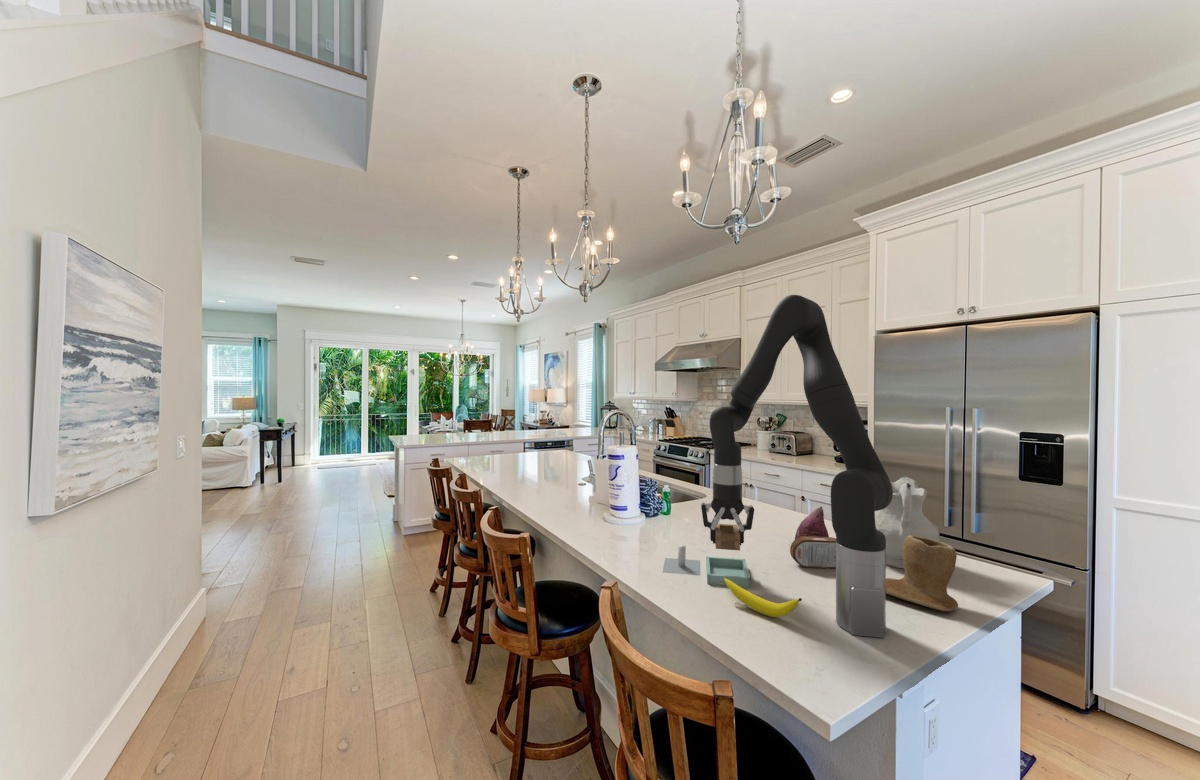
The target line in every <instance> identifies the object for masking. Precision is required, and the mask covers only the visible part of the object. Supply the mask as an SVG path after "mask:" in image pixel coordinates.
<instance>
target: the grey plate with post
mask: <svg viewBox="0 0 1200 780" xmlns="http://www.w3.org/2000/svg"><path fill="white" fill-rule="evenodd" d="M677 549H678V551H677V553H678V555H677V558H671V557H670V558H669V557H665V558H664V562H663V566H662V567H663V569H662V573H669V574H681V575H692V576H701V560H699V559H686V545H684V544H679V545H678V546H677Z"/></svg>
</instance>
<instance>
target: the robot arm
mask: <svg viewBox="0 0 1200 780" xmlns="http://www.w3.org/2000/svg"><path fill="white" fill-rule="evenodd" d="M791 338H794V340H795V342H796V344H797V347H798V349H799V351H800V355H801V357H802V362H803V389H804V390H803V391H804V395H805V398H806V401H807V403H808V406H809V410H810V412H811V414H812V417H813V419H814V420H815V421H816V424H818V426H819V427H820V428H821V430H822V431H823V432H824V433H825V434H826V436H827V437H828V438H829V439H830V440H831V441H832V443H834V445H835V447H836V448H837V450H838V451H839V453H840V456H841V458H842V461H843V464H844V466H845V469H846V470H843V471H841V472H839V473H837V474H836V475H835V476H834V478H833V479H832V482H831V486H830V510H831V525H832V528H833V531H834V533H835V538H836V569H835V622H836V624H837V625H838V626H839V627H840V628H842V629H843V630H845V631H847V632H849V633H850V634H851V635H853V636H862V637H863V636H865V637H872V638H882V639H884V638H885V634H886V631H887V630H886V628H887V625H886V622H887V621H886V620H887V619H886V618H887V616H886V615H887V611H886V608H887V607H886V604H887V603H886V601H887V600H886V599H887V597H886V596H887V595H886V578H887V577H886V576H887V575H886V572H887V571H886V565H887V564H886V538H885V535H884V534H883V533H882V532H881V531H879V530H877V529H876V525H875V511H878V510H882V509H884V508H886V507H887V506H888V505H889V504H890V503H891V500H892V497H893V489H892V485H891V482H892V481H891V480H890V478H889V475H888V473H887V472H886V469H885V467H884V466H883V464H882V462H881V460H880V458H879V457H878V455H877V452H876V451H875V449H874V446H873V444H872V442H871V440H870V438H869V435H868V433H867V432H868V431H867V430H866V427H865V425H864V422H863V419H862V417H861V415H860V412H859V410H858V405H856V400H855V397H854V395H853V392H852V389H851V388H850V385H849V382H848V380H847V377H846V376H845V374H844V371H843V368H842V366H841V364H840V361H839V359H838V357H837V354H836V352H835V350H834V348H833V347H834V346H833V345H832V342H831V341H832V340H831V338H830V334H829V329H828V324H827V322H826V317H825V315H824V311H823V309H822V307H821V306H820V305H819V304H818V303H817V302H815V301H813V300H811V299H810V298H807V297H804V296H802V295H799V294H790V295H786V296H785V297H783V298H782V299H781V300H779V302H778V303H777V304H776V306H775V308H774V309H773V311H772V314H771V316H770V318H769V320H768V322H767V325H766V327H765V329H764V331H763V333H762V336H761V337H760V339H759V341H758V344H757V347H756V349H755V350H754V352H753V354H752V356H751V358H750V360H749V362H748V363H747V365H746V366H745V368H744V369H743V371H742V373H741V375H740V376H739V377H738V379H737V380H736V382H735V383H734V385H733V387H732V389H731V391H730V395H731V400H730V401H729V403H728V405H727V406H719V407H716V408H715V409H713V411H712V412H711V414H710V417H709V432H710V435H711V440H712V443H713V447H714V448H713V449H714V451H713V454H714V455H713V470H712V471H713V472H712V501H711V502H709V503H706V502H702V503H701V504H700V509H701V515H702V521H703V526H704V527H705V528H708V529H709V530H710V532H709V536H710V537H709V538H710V542H712V544H715V541H716V530H715V528H716V526H717V524H720V523H719V522H720V521H721V520H730V521H735V524H736V525H737V526H738V529H739V533H740V547H741V546H742V544H744V543H745V532H746V531H747V530H748V531H750V530H752V527H753V520H754V516H755V508H754V506H753V505H746V504H744V503H743V469H742V446H741V445H740V443H738V442H737V441H736V436H735V432H736V433H737V432H739V431H740V430H742V429H743V428H744V427H745V426H746V424H747V423H748V422H749V419H750V417H751V415H752V412H753V410H754V408H755V405H756V403H757V402H758V401H759V399H760V398H761V396H762V395H763V394H764V392H765V390H766V389H767V387H768V386H769V384H770V382H771V381H772V378H773V375H774V371H775V369H776V364H777V362H778V358H779V356H780V354H781V353H782V351H783V349H784V347H785V346H786V344H787V343H788V342H789V341H790V339H791ZM890 481H891V482H890ZM710 509H712V510H713V512H714V513H715V514H714V515H713V518H712V520H711V521H709V519H708V513H709V512H710ZM742 511H744V513H745V514H746V515H747V516H746V522H745V523H742V520H741V518H740V514H741V513H742Z"/></svg>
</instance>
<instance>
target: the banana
mask: <svg viewBox="0 0 1200 780" xmlns="http://www.w3.org/2000/svg"><path fill="white" fill-rule="evenodd" d="M724 580H725V583H726V585H725V586H727V589H729V590H730V591H731V593H732V595H733V596H734V597H736V599H738V600H739V601H740V602H742V603H743V604H744V605H746V606H747V607H749V608H750V609H752V610H754V611H756V613H757V612H758V613H760V614H762V615H764V616H768V617H771V618H772V617H773V618H782V617H783V618H784V617H785V616H787V615H788V614H790V613H792V611H794V610H795V609H796V607H797V606H798V604H799V603H800V602H801V601H802V598H801V597H800V598H799V599H792V600H788V601H786V602H781V603H777V602H773V601H770V600H767V599H764V598H762V597H760V596H758V595H756V594H754V593H752V592H750V591H748V590H747V589H745V588H744V587H740V586H738V585H736V584H735V583H733V582H732V581H730V580H728V579H726V578H724Z"/></svg>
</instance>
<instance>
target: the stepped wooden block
mask: <svg viewBox="0 0 1200 780" xmlns="http://www.w3.org/2000/svg"><path fill="white" fill-rule="evenodd" d="M715 530H716V541H715V549H716V550H727V551H729V550H730V551H741V546H740V533H739V527H738V525H737V524H730V523H729V524H726V523H718V524H717V526H716V528H715Z"/></svg>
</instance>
